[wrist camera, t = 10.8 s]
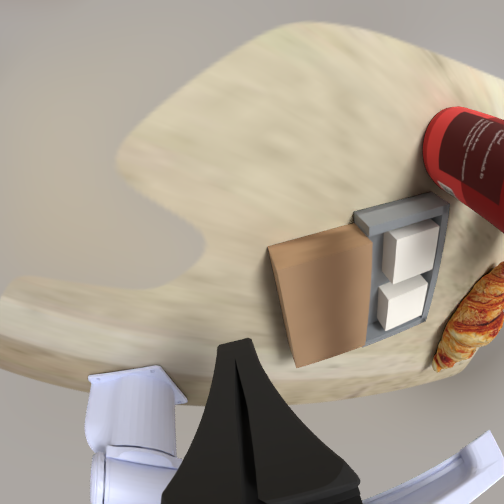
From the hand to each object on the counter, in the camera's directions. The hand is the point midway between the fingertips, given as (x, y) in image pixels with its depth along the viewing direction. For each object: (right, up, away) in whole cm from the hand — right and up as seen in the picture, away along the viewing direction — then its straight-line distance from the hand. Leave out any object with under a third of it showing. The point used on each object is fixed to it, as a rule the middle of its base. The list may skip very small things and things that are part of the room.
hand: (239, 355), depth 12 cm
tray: (+14, +3, +13) cm, 19 cm away
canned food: (+17, +13, +8) cm, 23 cm away
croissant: (+31, -5, +22) cm, 38 cm away
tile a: (+15, -1, +13) cm, 20 cm away
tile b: (+14, +4, +9) cm, 17 cm away
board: (+6, +1, +13) cm, 15 cm away
